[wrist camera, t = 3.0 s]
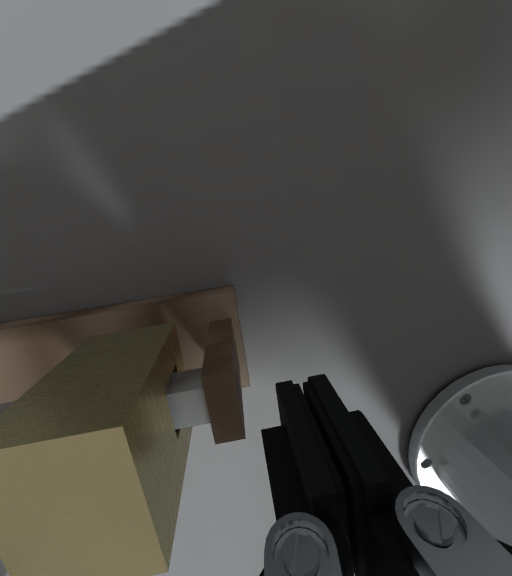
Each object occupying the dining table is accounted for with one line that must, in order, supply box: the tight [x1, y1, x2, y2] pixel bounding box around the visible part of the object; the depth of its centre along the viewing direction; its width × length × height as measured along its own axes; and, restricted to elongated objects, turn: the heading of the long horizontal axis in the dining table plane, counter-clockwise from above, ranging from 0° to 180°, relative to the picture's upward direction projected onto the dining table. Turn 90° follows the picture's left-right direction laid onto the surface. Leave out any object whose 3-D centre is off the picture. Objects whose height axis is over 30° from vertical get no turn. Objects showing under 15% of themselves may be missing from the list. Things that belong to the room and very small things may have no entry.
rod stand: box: [0, 285, 250, 444], centre depth 13 cm, size 20×6×8 cm, turn 98°
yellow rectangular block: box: [0, 322, 192, 576], centre depth 11 cm, size 4×5×7 cm
